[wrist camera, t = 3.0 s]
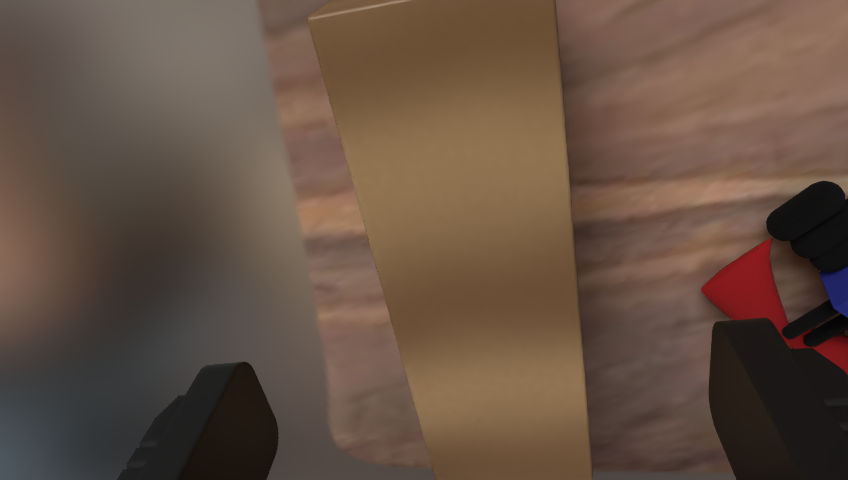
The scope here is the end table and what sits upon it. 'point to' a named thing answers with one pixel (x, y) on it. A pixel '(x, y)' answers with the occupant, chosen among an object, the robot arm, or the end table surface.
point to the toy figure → (810, 238)
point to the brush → (468, 221)
